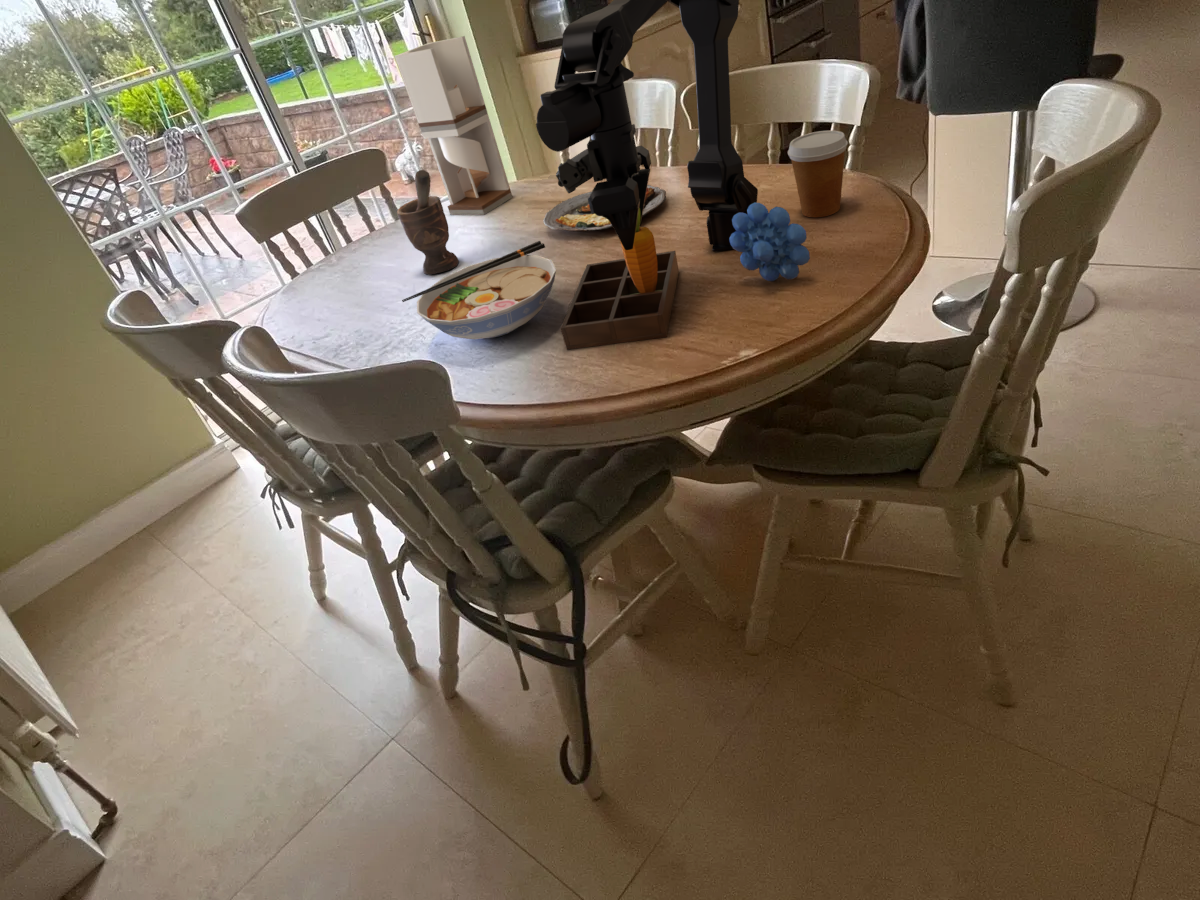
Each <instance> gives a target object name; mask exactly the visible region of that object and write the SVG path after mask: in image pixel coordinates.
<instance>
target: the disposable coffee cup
mask: <svg viewBox="0 0 1200 900" xmlns="http://www.w3.org/2000/svg"><path fill="white" fill-rule="evenodd" d="M848 143H849V142H848V140H847V138H846V135H845V133H844V132H843V131H840V130H833V129H832V130H818V131H814V132H809V133H806V134H803V135H800V136H797V137H795V138H794V139H792V140H791V141H790V143H789V147H788V150H787V155H788V157H789V159H790V161H791V166H792V170H793V173H794V174H793V175H794V179H795V180H794V181H795V184H796V191H797V195H798V200H799V204H800V208H801V214H802V215H803V216H805V217H807V218H823V217H827V216H831V215H834V214H836V213H837V212H839V211H840V210H841V203H842V202H841V200H842V189H843V179H844V178H843V177H844V167H845V165H844V164H845V155H846V154H845V151H846V150H847V146H848Z"/></svg>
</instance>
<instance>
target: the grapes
mask: <svg viewBox="0 0 1200 900" xmlns="http://www.w3.org/2000/svg"><path fill="white" fill-rule="evenodd" d="M747 213H748V215H747V214H746V213H741V212H739V213H737V214H735V215H734V216H733V219H732V224H733V227H734V228H735V230H736V232H734V233H732V234H731V236H730V238H729V240H730V244H731V246H732V248H733V249H732V250H734V251H737V252H738V253H741V254H740V256H739V261H740V263H741V266H742V267H743V268H744V269H746V270H747V271H755V270H758V271H759V272H758V273H759V275H760V276H761V278H762V279H764V280H765V281H767V282H774V281H776V280H778V279H779V277H780V276H781V277H782V278H784V279H785V280H794V279H795V278H797V277H798V276H799V274H800V269H799V266H804V265H806V264H807V263H809V262H810V259H811V255H810V251H809V249H808V247H806V246H804V245H803V244H804V243H805V242H806V240H807V231H806V229H805V228H804V227H803V226H802V225H801V224H799V223H795V222H793V223H791V216H790V213H789V212H788V210H786V209H785V208H784V207H782V206H775V207H772V208H771V209H770V210H768V208H767V206H765V204H763V203H760V202H757V203H756V202H754V203H753V204H751V205H750V206H749V207H748V209H747Z"/></svg>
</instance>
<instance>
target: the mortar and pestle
mask: <svg viewBox="0 0 1200 900" xmlns="http://www.w3.org/2000/svg"><path fill="white" fill-rule="evenodd" d="M431 181H432V180H431V176H430V173H429V172H428V171H427V170H425V169H419V170H418V171H416V172H415V176H414V185H415V192H416V196H417V198H415V199H412V200H411V201H408V202H406V203H404V204H403V205H401V206H400V207H399V208H398V209H397V210H396V214H397V217H398V219H399V222H400V223H401V226H402V229H403V231H404V233H405V235H406V237H407V239H408V241H409V242H410V243H411V244H412V246H413V248H414V249H416V250H417V251H419V252H421V253H422V254H423V255H424V256H425V257H424V261H423V263H422V271H423V272H422V273H424V274H425V275H429V276H431V275H435V274H436V275H437V274H441V273H445V272H449V271H450V270H452V269H454V268H456V267H457V266H458V264H459V258H458V257H457V255H456V254H455V253H454V252H452V251H449V250H448V249H447V244H448V241H449V239H450V233H449V224H448V220H447V217H446V214H445V211H444V207H443V204H442V201H441V198H440V197H439V196H437V195H431V196H430V192H431Z"/></svg>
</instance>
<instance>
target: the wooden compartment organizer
mask: <svg viewBox="0 0 1200 900" xmlns="http://www.w3.org/2000/svg"><path fill="white" fill-rule="evenodd" d="M656 255H657V284H656V290H655V291H654V292H647V293H640V292H639V291H638V289H637V288H636V286H635V284H634V282H633V280H632V278H631V276H630V273H629V271H628V268H627V265H626V262H625V258H620V259H614V260H607V261H601V262H595V263H589V264H587V265H586V266H585V268H584V271H583V273H582V275H581V278H580V279H579V280H580V281H579V282H578V286H577V288H576V290H575V293H574V294H573V297H572V300H571V302H570V305H569V306H568V309H567V312H566V314H565V317H564V319H563V321H562V323H561V326H560V331H561V336H562V338H563V343H564V345H565V348H566V350H574V349H582V348H583V349H584V348H591V347H598V346H606V345H615V344H622V343H630V342H638V341H645V340H653V339H654V340H655V339H661V338H667V337H668V331H669V326H670V322H671V316H672V310H673V306H674V299H675V295H676V290H677V289H676V288H677V283H678V278H679V272H680V269H679V263H678V259H677V252H676V250H670V251H665V252H658V253H657V252H656Z"/></svg>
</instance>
